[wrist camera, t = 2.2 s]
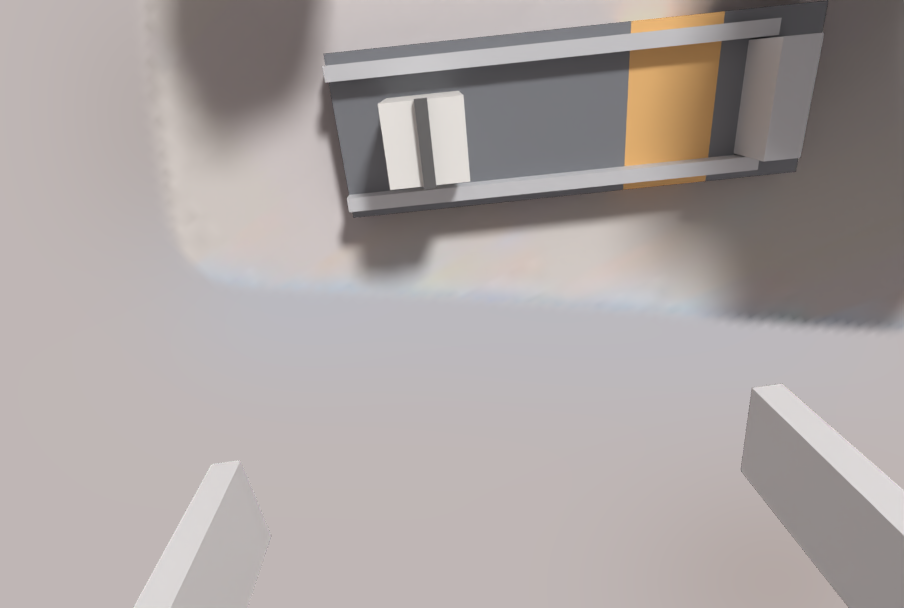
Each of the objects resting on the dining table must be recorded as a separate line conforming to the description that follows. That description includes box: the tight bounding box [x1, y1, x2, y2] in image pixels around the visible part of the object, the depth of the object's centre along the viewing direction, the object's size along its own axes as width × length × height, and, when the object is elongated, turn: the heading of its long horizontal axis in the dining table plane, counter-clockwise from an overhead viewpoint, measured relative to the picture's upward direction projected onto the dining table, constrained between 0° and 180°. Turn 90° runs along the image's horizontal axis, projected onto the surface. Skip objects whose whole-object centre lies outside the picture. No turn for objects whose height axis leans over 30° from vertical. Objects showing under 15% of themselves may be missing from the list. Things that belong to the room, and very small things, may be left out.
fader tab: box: [378, 91, 470, 190], centre depth 26 cm, size 4×4×5 cm
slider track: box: [322, 0, 828, 218], centre depth 28 cm, size 9×27×5 cm, turn 96°
